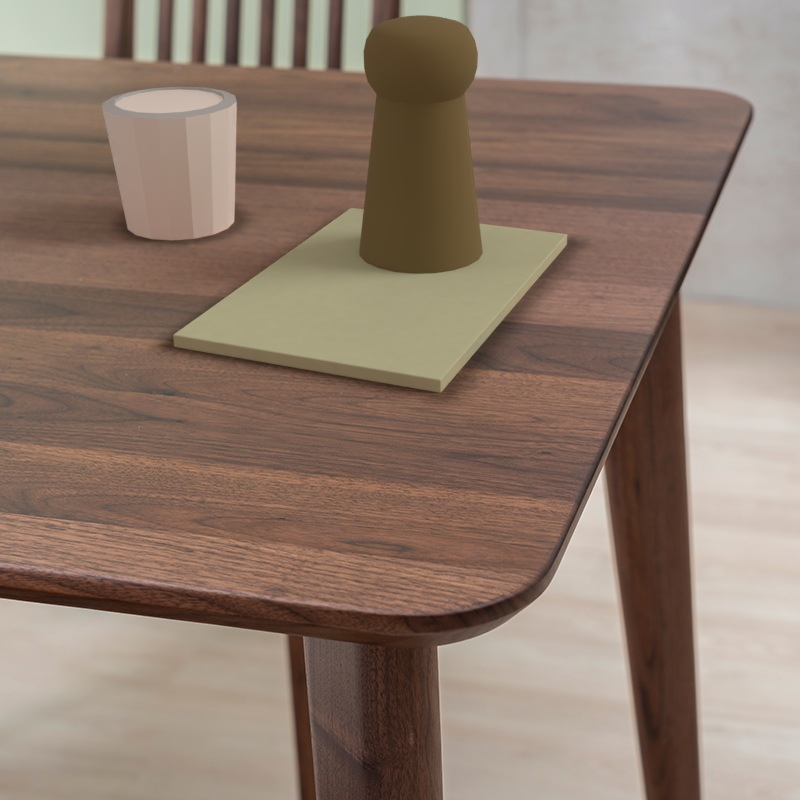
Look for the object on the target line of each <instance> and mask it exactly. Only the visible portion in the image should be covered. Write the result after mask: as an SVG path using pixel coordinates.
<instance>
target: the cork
mask: <svg viewBox="0 0 800 800" xmlns="http://www.w3.org/2000/svg"><path fill="white" fill-rule="evenodd" d="M478 61H479V52H478V47H477V43H476V39H475V38H474V35H473V33H472V32H471V30H470V29H469V27H468V26H466V25H465V24H464V23H462V22H461V21H459V20H457V19H451V18H448V17H443V16H435V15H424V14H423V15H420V14H419V15H418V14H417V15H405V16H400V17H395V18H391V19H387V20H383V21H382V22H380V23H378V24H377V25H375V26H373V27H372V28H371V30H370V32H369V33H368V35H367V37H366V39H365V43H364V48H363V70H364V73H365V77H366V81H367V83H368V84H369V86H370V88H372V90H373V91H374V93H375V104H374V112H373V122H372V123H373V124H372V131H371V141H370V148H369V156H368V157H369V158H368V168H367V177H366V185H365V194H364V203H363V209H364V212H363V221H362V230H361V239H360V248H359V255H360V257H361V258H362V259H363V260H364V261H365V262H366V263H368V264H371V265H373V266H375V267H377V268H381V269H385V270H389V271H394V272H403V273H413V274H416V273H438V272H445V271H452V270H456V269H459V268H463V267H466V266H469V265H471V264H472V263H474V262H476V261H477V260H479V258H480V257H481V255H482V254H483V250H482V241H481V233H480V224H481V223H480V217H479V215H480V214H479V208H478V207H479V206H478V199H477V189H476V181H475V173H474V164H473V154H472V147H471V138H470V130H469V129H470V128H469V120H468V111H467V110H468V109H467V102H466V95H465V94H466V92H467V91H468V89H469V87H470V86H471V85H472V83H473V82H474V81H475V77H476V74H477V71H478V70H477V69H478Z"/></svg>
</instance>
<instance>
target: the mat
mask: <svg viewBox="0 0 800 800" xmlns="http://www.w3.org/2000/svg"><path fill="white" fill-rule="evenodd" d="M363 212H364V208H363V209H362V208H354V207H350V208H349V209H347V210H345V211H344V212H343V213H342V214H340V215H339V216H337V217H336V218H335V219H333V220H332V221H331V222H329V223H328V224H326V225H325V226H323V227H322V228H321V229H319V230H318V231H316V232H315V233H313V234H312V235H311V236H309V237H308V238H307V239H305V240H304V241H302V242H301V243H299V244H298V245H297V246H295V247H294V248H292V249H291V250H290V251H289V252H287V253H285V254H284V255H282V256H281V257H280V258H278V259H277V260H276V261H275V262H273V263H272V264H270V265H268V266H267V267H266V268H265V269H263V270H262V271H260V272H258V274H256V275H255V276H253V277H252V278H250V279H249V280H248V281H246V282H245V283H243V284H242V285H240V286H239V287H238V288H236V289H235V290H234V291H232V292H231V293H230V294H228V295H227V296H225V297H224V298H223V299H221V300H219V301H218V302H216V303H215V304H214V305H213V306H212V307H210V308H208V309H207V310H206V311H205V312H203V313H202V314H200V315H199V316H197V317H196V318H194V319H193V320H192V321H190V322H189V323H187V324H186V325H185V326H183V327H182V328H181V329H179V330H178V331H176V332H175V333H173V334H172V337H173V347H175V348H179V349H186V350H191V351H196V352H203V353H208V354H214V355H220V356H225V357H230V358H231V357H232V358H237V359H242V360H243V359H244V360H249V361H253V362H254V361H255V362H261V363H265V364H272V365H278V366H283V367H288V368H289V367H290V368H295V369H301V370H306V371H311V372H318V373H323V374H330V375H335V376H342V377H347V378H353V379H359V380H364V381H370V382H374V383H375V382H376V383H380V384H381V383H382V384H386V385H387V384H388V385H393V386H397V387H398V386H399V387H405V388H410V389H416V390H422V391H427V392H433V393H439V394H440V393H442V392H443V391H444V390H445V389H446V387H448V385H449V384H450V383H451V381H452V380H453V379H454V378H455V377H456V375H457V374H458V373H459V372H460V371H461V370H462V369H463V368H464V366H465V365H466V364H467V363H468V361H470V359H471V358H472V356H474V355H475V353H476V352H477V351H478V350H479V348H480V347H481V346H482V345H483V344H484V343H485V342H486V341H487V339H489V337H490V336H491V335H492V333H494V331H495V330H496V328H497V327H498V326H499V325H500V324H501V322H503V321H504V320H505V318H506V317H507V315H508V314H509V313H510V312H511V311H512V310H513V309H514V307H516V305H517V304H518V303H519V302H520V301H521V300H522V298H523V297H524V296H525V295H526V293H527V292H529V290H530V289H531V288H532V286H533V285H534V284H535V283H536V282H537V280H539V278H540V277H541V276H542V274H543V273H544V272H545V271H546V270H547V269H548V268H549V267H550V265H551V264H552V263H553V262H554V261H555V260H556V258H557V257H558V256H559V255H560V253H561V252H562V251H563V250H564V249H565V248H566V246H567V245H568V234H567V233H562V232H553V231H544V230H536V229H529V228H528V229H527V228H519V227H511V226H503V225H495V224H488V223H487V224H486V223H479V224H480V233H481V241H482V250H483V254H482V255H481V257H480V258H479V260H477V261H476V262H474V263H472V264H471V265H469V266H466V267H463V268H459V269H456V270H452V271H445V272H438V273H416V274H413V273H403V272H394V271H389V270H385V269H381V268H377V267H375V266H373V265H371V264H368V263H366V262H365V261H364V260H363V259H362V258H361V257H360V255H359V248H360V239H361V230H362V221H363Z"/></svg>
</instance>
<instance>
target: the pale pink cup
mask: <svg viewBox="0 0 800 800" xmlns="http://www.w3.org/2000/svg"><path fill="white" fill-rule="evenodd" d="M101 107H102V109H101V110H102V114H103V118H104V119H103V120H104V123H105V128H106V133H107V137H108V142H109V143H108V144H109V147H110V152H111V157H112V161H113V164H114V165H113V167H114V171H115V175H116V180H117V185H118V190H119V194H120V199H121V204H122V208H123V213H124V219H125V223H126V228H127V230H128V231H129V232H131V233H132V234H133V235H135V236H137V237H141V238H145V239H150V240H159V241H161V240H162V241H182V240H195V239H200V238H204V237H209V236H214V235H216V234H218V233H221V232H223V231H226V230H228V229H229V228H230V227H231V226H232V225H233V224H234V223H235V211H236V209H235V208H236V207H235V205H236V166H237V165H236V164H237V160H236V159H237V117H238V116H237V113H238V111H237V110H238V100H237V98H236V95H235V94H232V93H230V92H228V91H226V90H222V89H216V88H210V87H204V86H203V87H201V86H200V87H199V86H167V87H165V86H164V87H153V88H152V87H151V88H144V89H139V90H132V91H128V92H124V93H121V94H118V95H113V96H112V97H110V98H108V99H107V100H105V101H103V102H102V106H101Z"/></svg>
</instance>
